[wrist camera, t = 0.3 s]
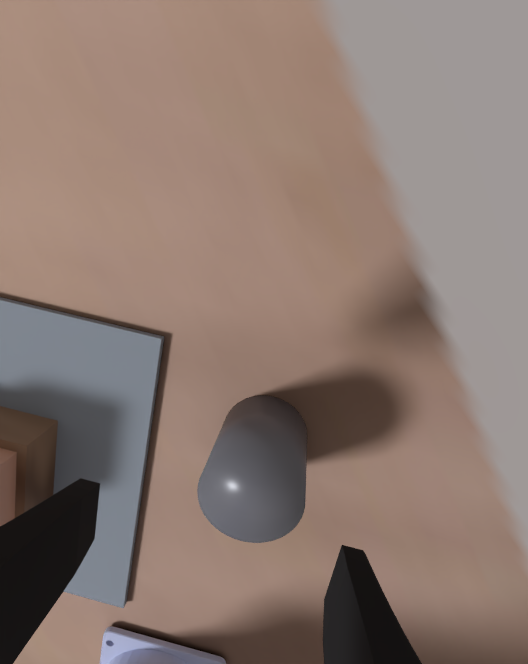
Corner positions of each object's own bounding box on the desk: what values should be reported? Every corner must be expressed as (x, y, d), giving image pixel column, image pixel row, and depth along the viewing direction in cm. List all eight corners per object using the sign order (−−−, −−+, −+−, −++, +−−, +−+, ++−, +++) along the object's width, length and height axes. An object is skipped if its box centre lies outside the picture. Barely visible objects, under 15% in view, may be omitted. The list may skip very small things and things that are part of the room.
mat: (126, 602, 26) (123, 608, 25) (-109, 537, 26) (-115, 542, 26) (164, 336, 20) (161, 338, 20) (-132, 265, 21) (-140, 266, 21)
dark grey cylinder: (296, 479, 22) (291, 554, 17) (216, 459, 22) (189, 527, 17) (316, 407, 20) (316, 466, 16) (231, 386, 21) (206, 438, 16)
